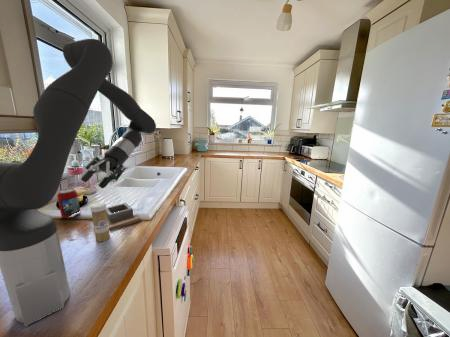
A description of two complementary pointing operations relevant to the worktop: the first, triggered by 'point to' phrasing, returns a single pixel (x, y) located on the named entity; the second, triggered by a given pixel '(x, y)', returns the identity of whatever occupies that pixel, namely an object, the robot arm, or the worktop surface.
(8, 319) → the worktop surface
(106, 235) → the sprinkles bottle
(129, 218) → the socket board
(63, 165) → the robot arm
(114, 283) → the worktop surface
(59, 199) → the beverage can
